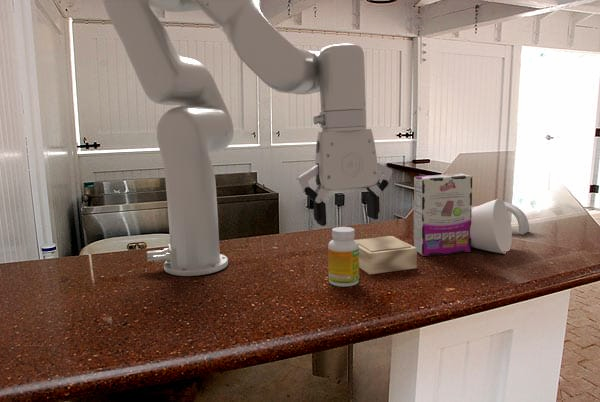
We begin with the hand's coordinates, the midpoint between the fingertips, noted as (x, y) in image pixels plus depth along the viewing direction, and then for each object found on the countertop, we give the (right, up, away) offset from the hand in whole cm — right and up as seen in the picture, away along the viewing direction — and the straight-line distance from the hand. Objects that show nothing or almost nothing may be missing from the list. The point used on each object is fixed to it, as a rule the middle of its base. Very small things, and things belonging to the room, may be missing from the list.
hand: (347, 221), depth 84 cm
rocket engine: (+29, -7, +24) cm, 38 cm away
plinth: (+8, -9, +12) cm, 17 cm away
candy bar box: (+22, -8, +19) cm, 30 cm away
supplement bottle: (0, -11, +2) cm, 11 cm away
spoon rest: (+38, -4, +41) cm, 56 cm away
